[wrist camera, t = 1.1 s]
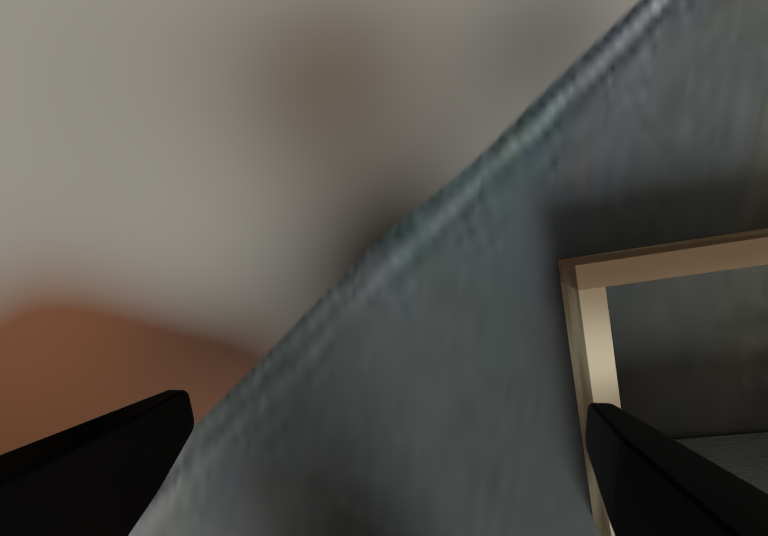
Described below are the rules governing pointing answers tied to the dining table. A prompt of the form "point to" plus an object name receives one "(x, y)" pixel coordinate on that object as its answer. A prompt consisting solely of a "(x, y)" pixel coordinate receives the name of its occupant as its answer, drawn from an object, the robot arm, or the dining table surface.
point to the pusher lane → (591, 314)
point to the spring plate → (736, 455)
